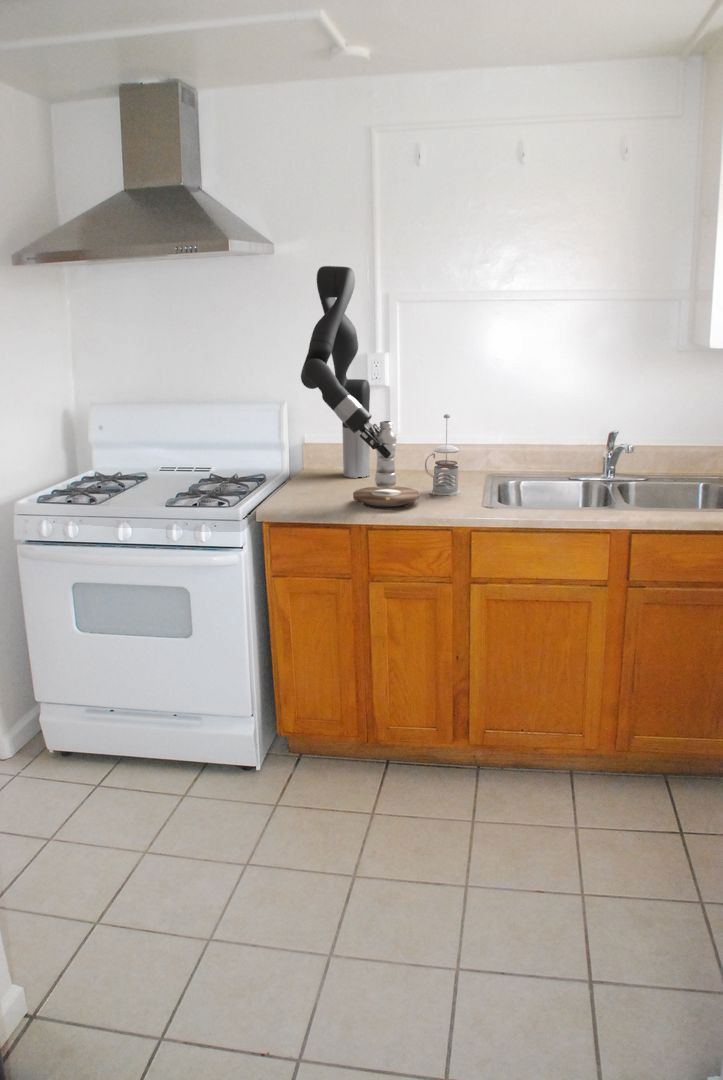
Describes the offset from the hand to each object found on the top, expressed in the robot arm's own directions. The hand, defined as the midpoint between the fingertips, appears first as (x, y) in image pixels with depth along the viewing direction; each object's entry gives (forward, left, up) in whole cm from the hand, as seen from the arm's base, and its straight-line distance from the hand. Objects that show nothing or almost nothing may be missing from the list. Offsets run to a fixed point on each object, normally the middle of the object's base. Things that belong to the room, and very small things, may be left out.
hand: (391, 454), depth 265 cm
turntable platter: (0, -2, -13) cm, 13 cm away
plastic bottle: (0, -2, -11) cm, 11 cm away
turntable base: (0, -2, -15) cm, 15 cm away
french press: (-14, +17, -15) cm, 27 cm away
